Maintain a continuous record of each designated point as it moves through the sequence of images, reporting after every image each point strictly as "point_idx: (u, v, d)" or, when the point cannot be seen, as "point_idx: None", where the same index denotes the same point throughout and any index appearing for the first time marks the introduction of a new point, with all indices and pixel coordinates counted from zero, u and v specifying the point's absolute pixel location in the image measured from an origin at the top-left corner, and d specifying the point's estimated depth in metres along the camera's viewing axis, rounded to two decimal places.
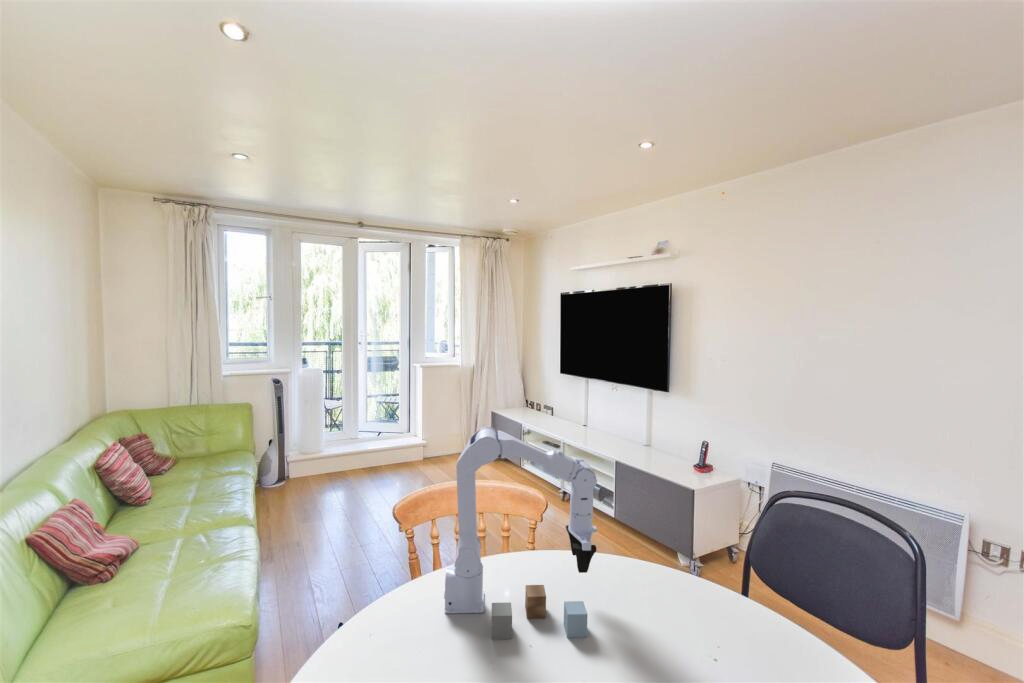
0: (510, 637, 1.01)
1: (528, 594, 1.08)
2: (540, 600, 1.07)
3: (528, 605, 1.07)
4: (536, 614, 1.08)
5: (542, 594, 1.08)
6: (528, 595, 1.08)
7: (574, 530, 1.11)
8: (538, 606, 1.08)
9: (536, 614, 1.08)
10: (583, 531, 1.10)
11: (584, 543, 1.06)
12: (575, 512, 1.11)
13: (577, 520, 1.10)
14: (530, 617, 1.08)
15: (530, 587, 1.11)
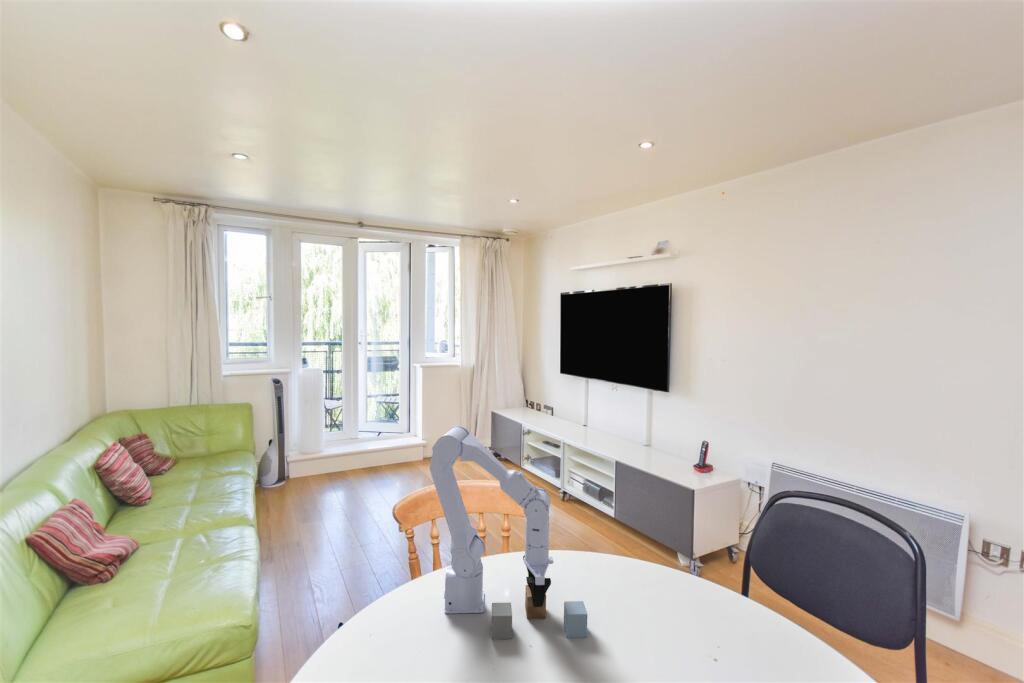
0: (510, 637, 1.01)
1: (528, 594, 1.08)
2: None
3: (528, 605, 1.07)
4: (536, 614, 1.08)
5: None
6: (528, 595, 1.08)
7: (529, 562, 1.07)
8: None
9: (536, 614, 1.08)
10: (538, 563, 1.06)
11: (537, 577, 1.02)
12: (528, 542, 1.07)
13: (531, 551, 1.06)
14: (530, 617, 1.08)
15: None
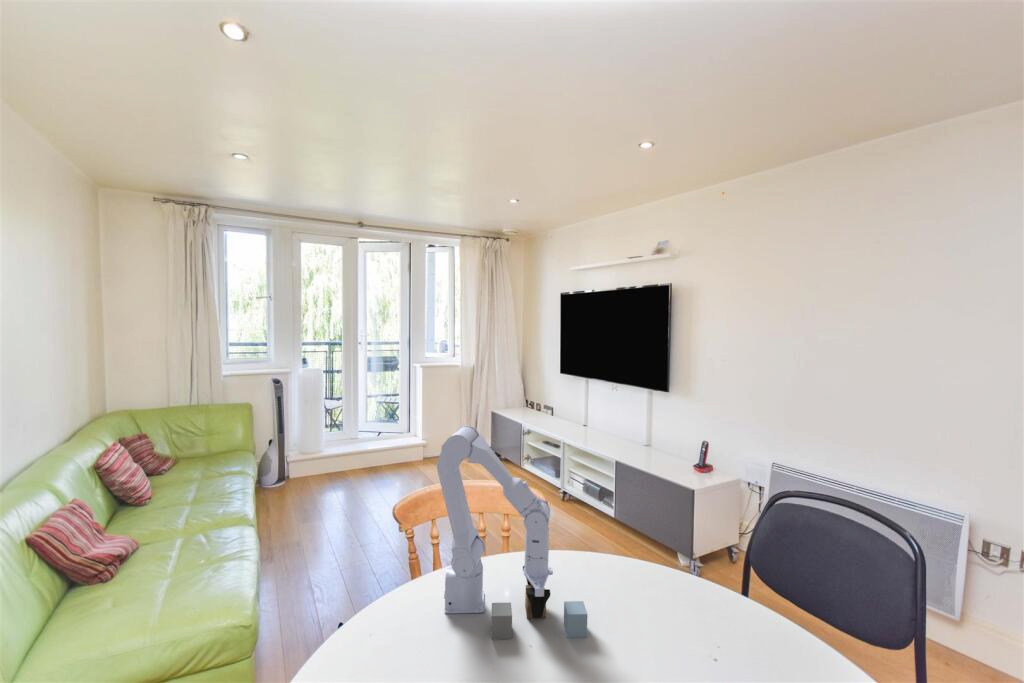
0: (510, 637, 1.01)
1: None
2: None
3: (528, 605, 1.07)
4: None
5: None
6: None
7: (528, 573, 1.07)
8: None
9: None
10: (537, 575, 1.06)
11: (537, 589, 1.02)
12: (527, 554, 1.07)
13: (531, 563, 1.06)
14: (530, 617, 1.08)
15: (530, 587, 1.11)
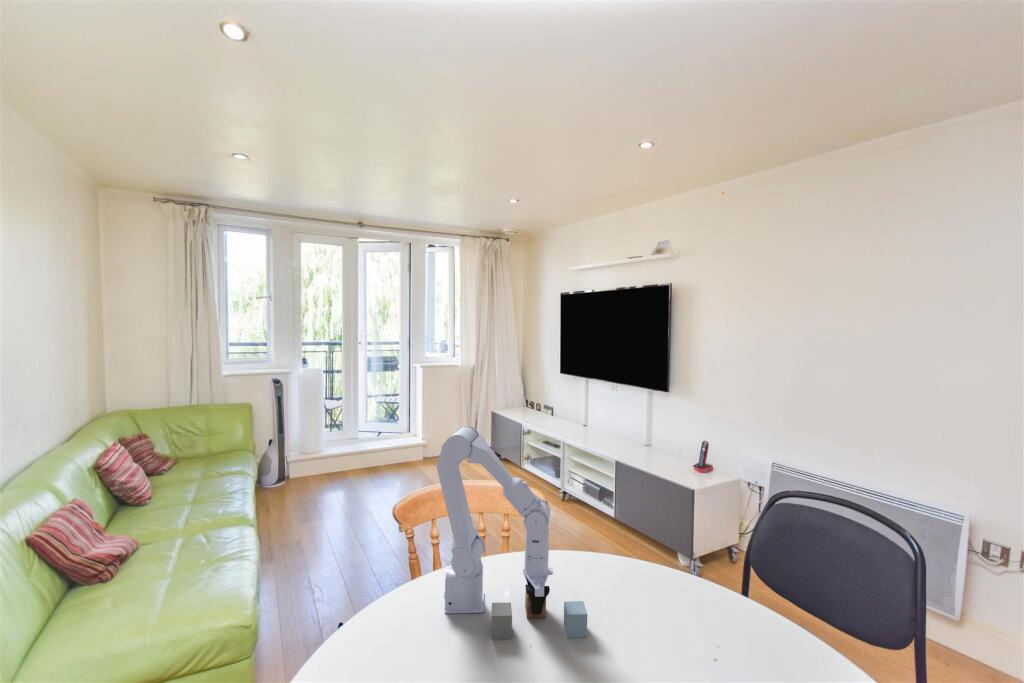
0: (510, 637, 1.01)
1: None
2: None
3: (528, 605, 1.07)
4: (536, 614, 1.08)
5: None
6: None
7: (528, 573, 1.07)
8: None
9: (536, 614, 1.08)
10: (537, 575, 1.06)
11: (537, 589, 1.02)
12: (527, 554, 1.07)
13: (531, 563, 1.06)
14: (530, 617, 1.08)
15: None
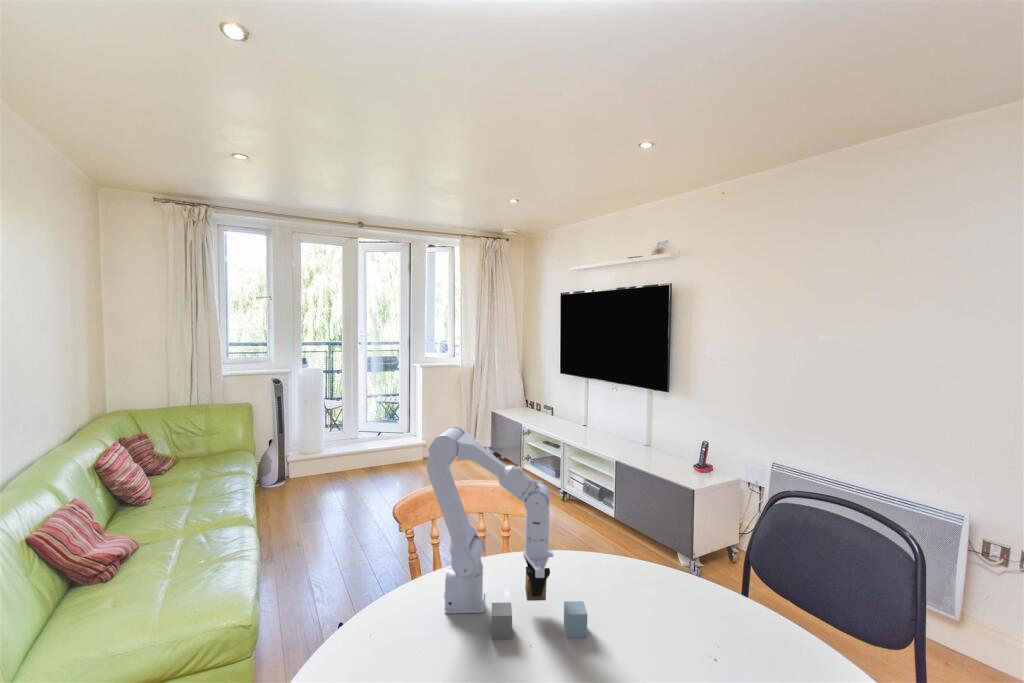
0: (510, 637, 1.01)
1: None
2: None
3: (528, 587, 1.07)
4: (537, 596, 1.07)
5: None
6: (528, 577, 1.07)
7: (529, 555, 1.07)
8: None
9: None
10: (538, 556, 1.06)
11: (537, 570, 1.02)
12: (528, 536, 1.07)
13: (531, 545, 1.06)
14: (531, 599, 1.07)
15: None
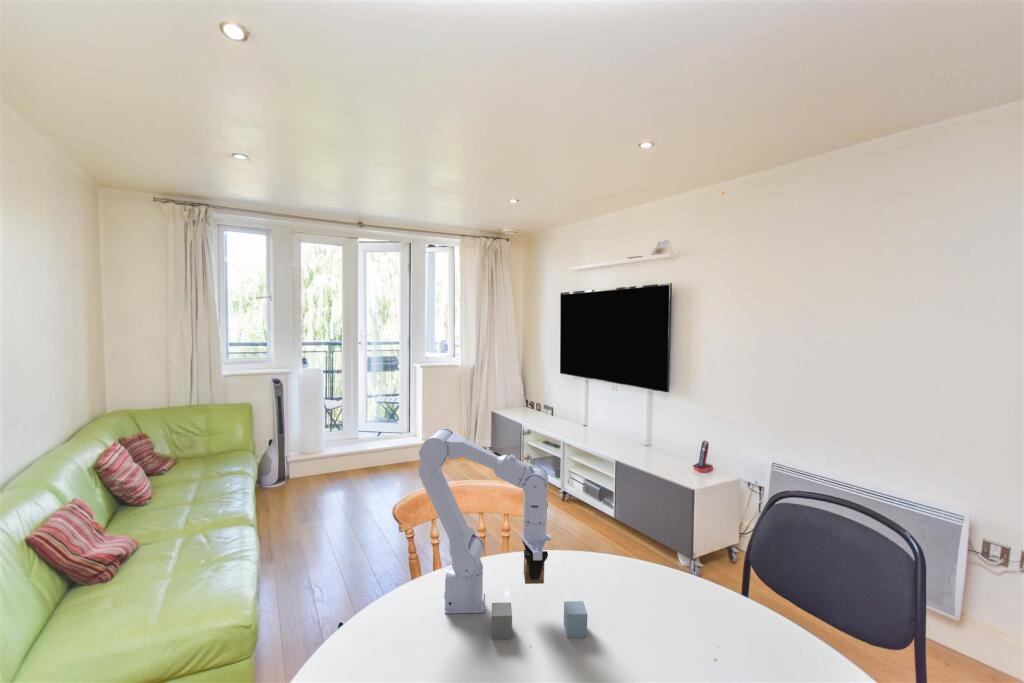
0: (510, 637, 1.01)
1: None
2: None
3: (526, 570, 1.08)
4: None
5: None
6: (526, 560, 1.08)
7: (527, 539, 1.07)
8: None
9: None
10: (536, 540, 1.07)
11: (535, 553, 1.02)
12: (526, 519, 1.07)
13: (529, 528, 1.07)
14: (529, 582, 1.08)
15: None
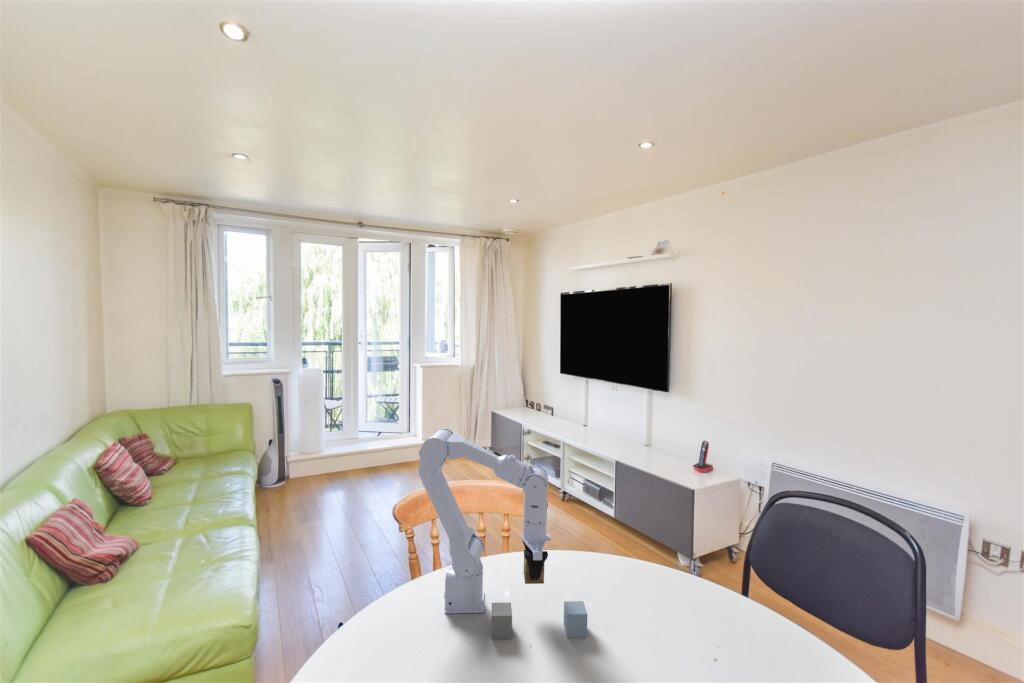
0: (510, 637, 1.01)
1: None
2: None
3: (526, 570, 1.08)
4: None
5: None
6: (526, 560, 1.08)
7: (527, 539, 1.07)
8: None
9: None
10: (536, 540, 1.07)
11: (535, 553, 1.02)
12: (526, 519, 1.07)
13: (529, 528, 1.07)
14: (529, 582, 1.08)
15: None
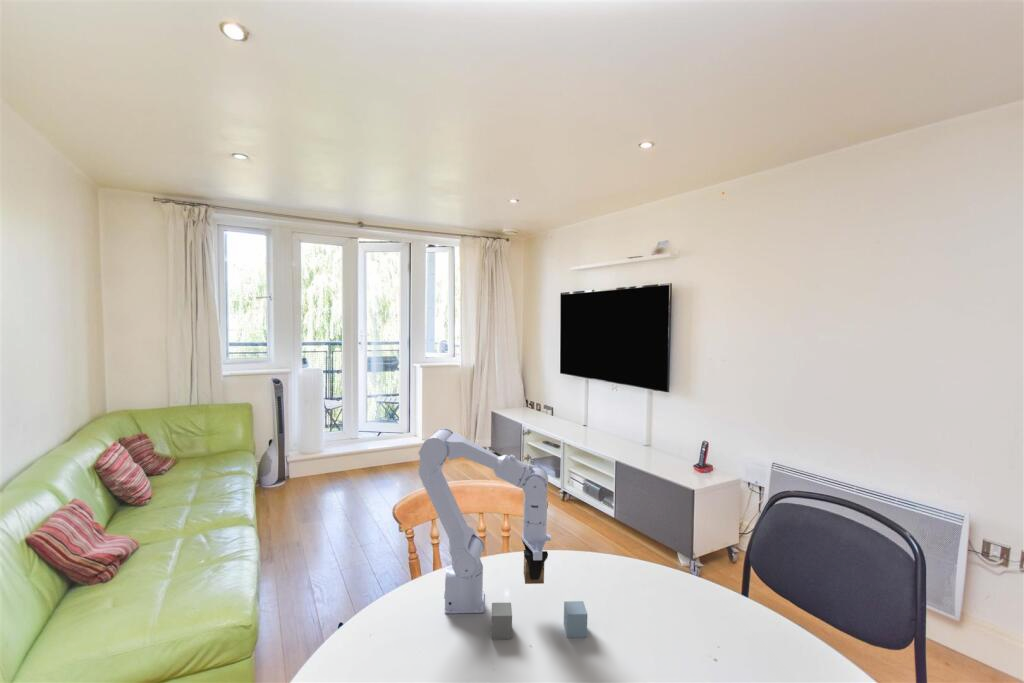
0: (510, 637, 1.01)
1: None
2: None
3: (526, 570, 1.08)
4: None
5: None
6: (526, 560, 1.08)
7: (527, 539, 1.07)
8: None
9: None
10: (536, 540, 1.07)
11: (535, 553, 1.02)
12: (526, 519, 1.07)
13: (529, 528, 1.07)
14: (529, 582, 1.08)
15: None
